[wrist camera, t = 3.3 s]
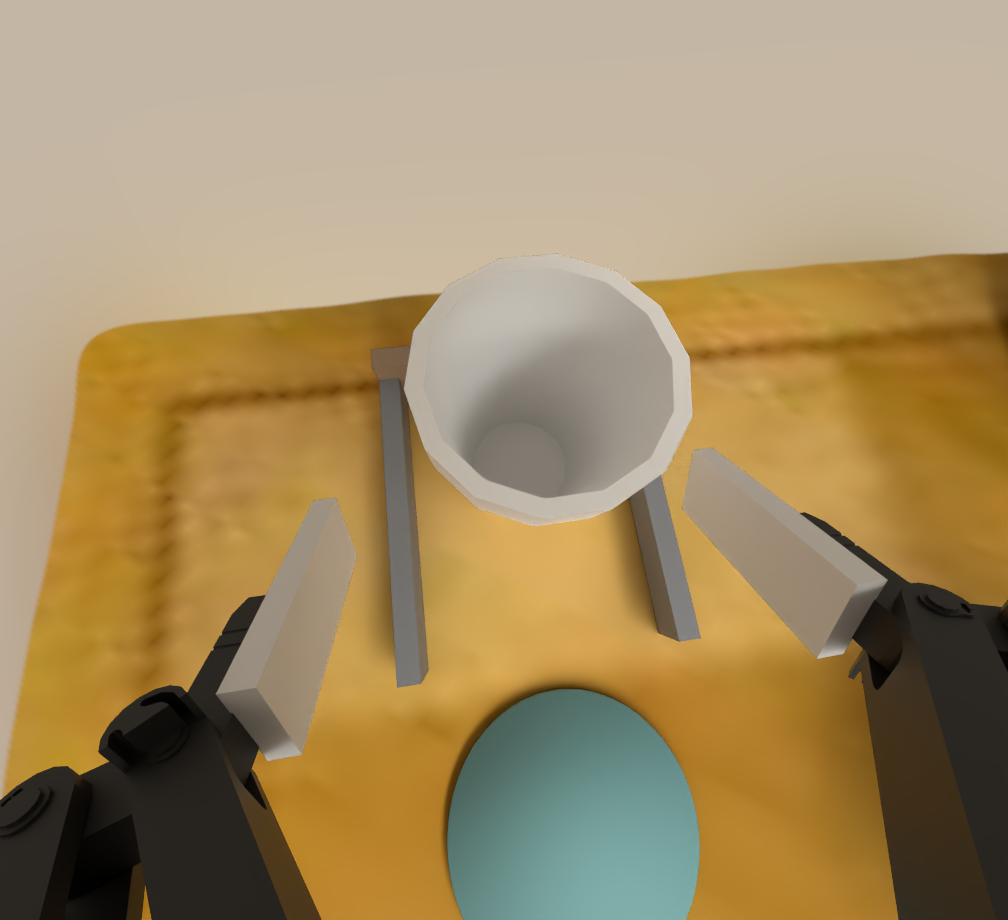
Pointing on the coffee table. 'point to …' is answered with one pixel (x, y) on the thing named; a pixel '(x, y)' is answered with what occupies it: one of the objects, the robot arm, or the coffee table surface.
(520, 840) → the teal mat
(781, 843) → the coffee table surface
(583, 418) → the foam cup
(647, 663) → the coffee table surface
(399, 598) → the cup lane
